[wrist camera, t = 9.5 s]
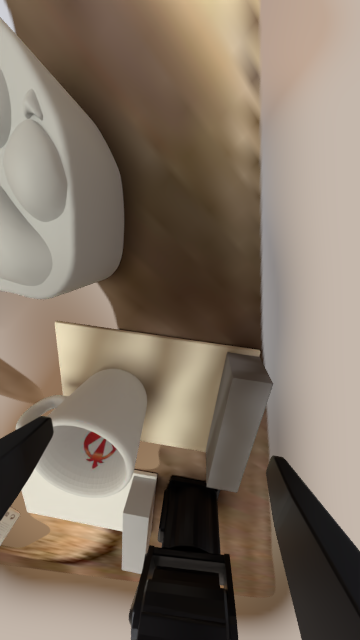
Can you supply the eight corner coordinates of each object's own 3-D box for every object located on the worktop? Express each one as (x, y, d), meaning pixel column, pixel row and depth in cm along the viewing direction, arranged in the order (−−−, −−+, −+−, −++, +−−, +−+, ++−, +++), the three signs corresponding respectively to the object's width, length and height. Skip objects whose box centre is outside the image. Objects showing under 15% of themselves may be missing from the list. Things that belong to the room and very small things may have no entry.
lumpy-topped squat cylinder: (19, 273, 19) (-113, 295, 11) (-19, 92, 15) (-286, -94, 7) (126, 283, 19) (67, 312, 10) (121, 94, 14) (11, -111, 6)
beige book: (259, 349, 19) (275, 378, 15) (230, 453, 24) (236, 495, 20) (57, 320, 20) (20, 340, 16) (69, 425, 25) (43, 460, 21)
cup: (65, 410, 24) (2, 485, 17) (54, 350, 21) (-26, 408, 14) (155, 422, 23) (132, 506, 16) (157, 362, 20) (131, 430, 13)
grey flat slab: (157, 474, 27) (149, 515, 23) (150, 533, 32) (143, 576, 28) (13, 447, 28) (-19, 482, 24) (29, 509, 33) (4, 546, 29)
